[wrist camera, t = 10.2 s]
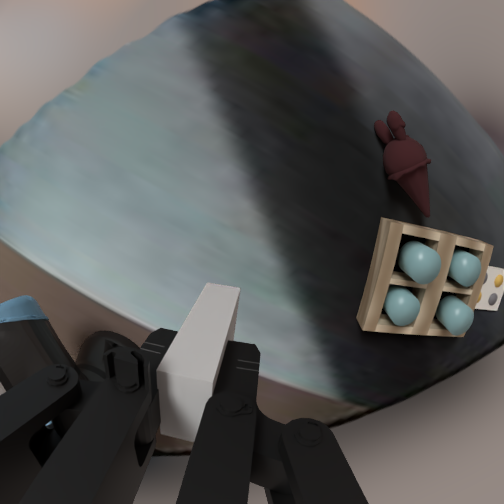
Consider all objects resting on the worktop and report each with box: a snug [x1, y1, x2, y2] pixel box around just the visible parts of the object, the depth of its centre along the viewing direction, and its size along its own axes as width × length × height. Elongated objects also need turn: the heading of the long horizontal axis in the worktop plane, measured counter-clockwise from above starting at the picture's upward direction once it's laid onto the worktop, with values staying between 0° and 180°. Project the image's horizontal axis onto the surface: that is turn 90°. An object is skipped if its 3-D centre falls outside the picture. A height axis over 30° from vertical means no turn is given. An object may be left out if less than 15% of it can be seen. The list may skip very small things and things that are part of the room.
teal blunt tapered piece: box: [447, 248, 481, 287], centre depth 38 cm, size 5×5×5 cm
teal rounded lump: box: [383, 284, 420, 326], centre depth 41 cm, size 5×5×5 cm
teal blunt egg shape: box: [398, 241, 441, 284], centre depth 37 cm, size 5×5×5 cm
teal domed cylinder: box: [436, 295, 474, 336], centre depth 38 cm, size 5×5×5 cm
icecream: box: [374, 111, 431, 217], centre depth 35 cm, size 7×7×15 cm
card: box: [475, 266, 504, 311], centre depth 42 cm, size 10×8×1 cm
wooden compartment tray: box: [357, 217, 493, 337], centre depth 40 cm, size 20×16×4 cm
